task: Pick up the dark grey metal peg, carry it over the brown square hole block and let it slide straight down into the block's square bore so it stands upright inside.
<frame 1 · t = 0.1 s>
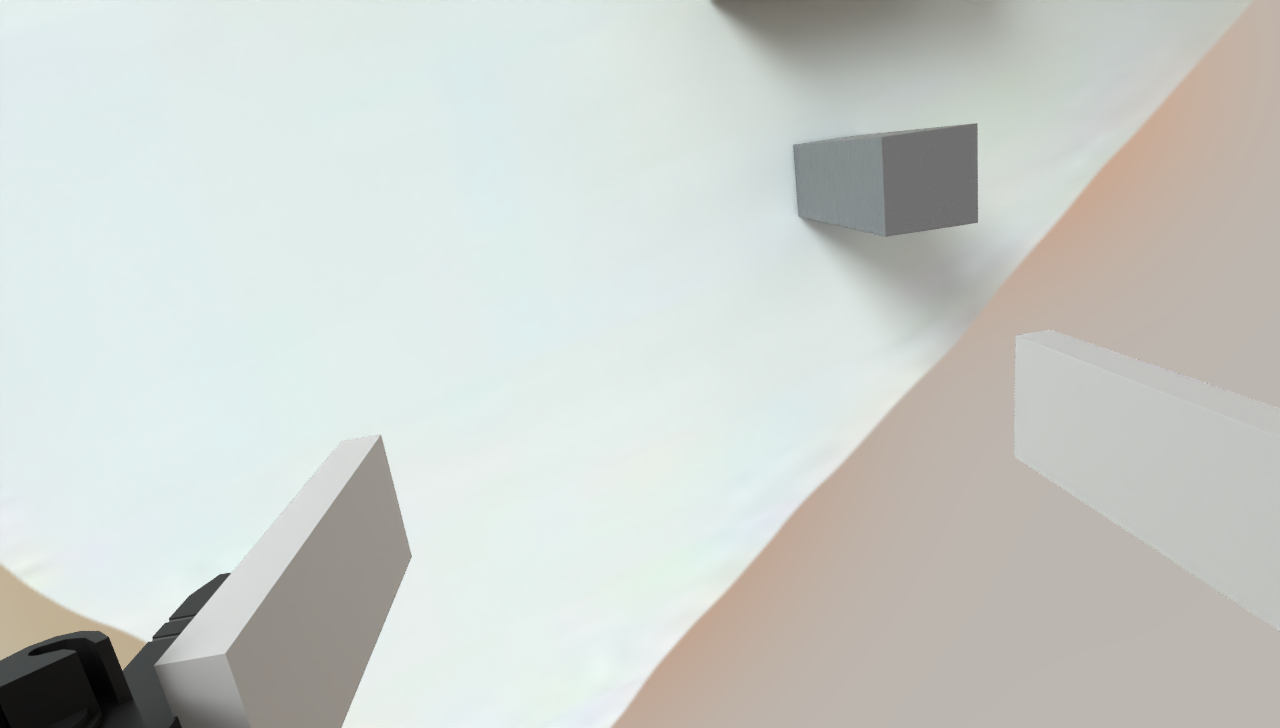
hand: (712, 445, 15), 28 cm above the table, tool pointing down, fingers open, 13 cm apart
metal peg: (830, 176, 41), on the table
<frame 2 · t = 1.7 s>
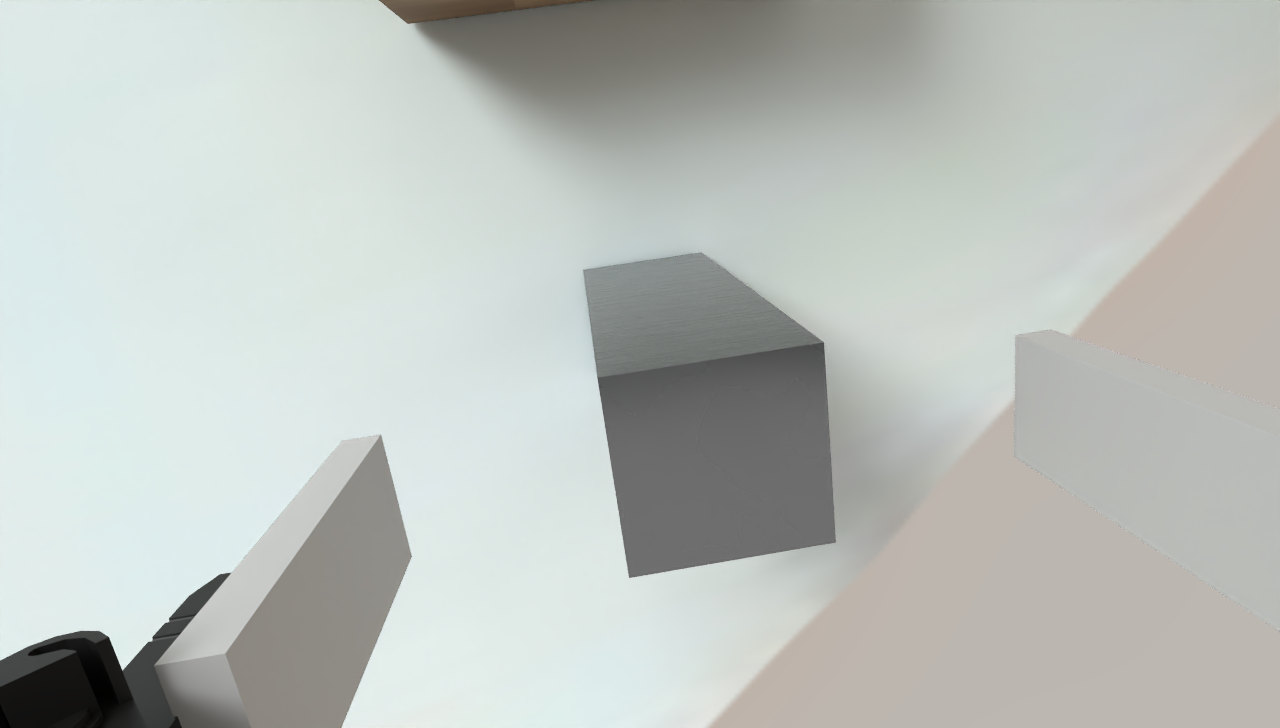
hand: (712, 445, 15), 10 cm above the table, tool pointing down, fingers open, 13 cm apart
metal peg: (650, 319, 24), on the table
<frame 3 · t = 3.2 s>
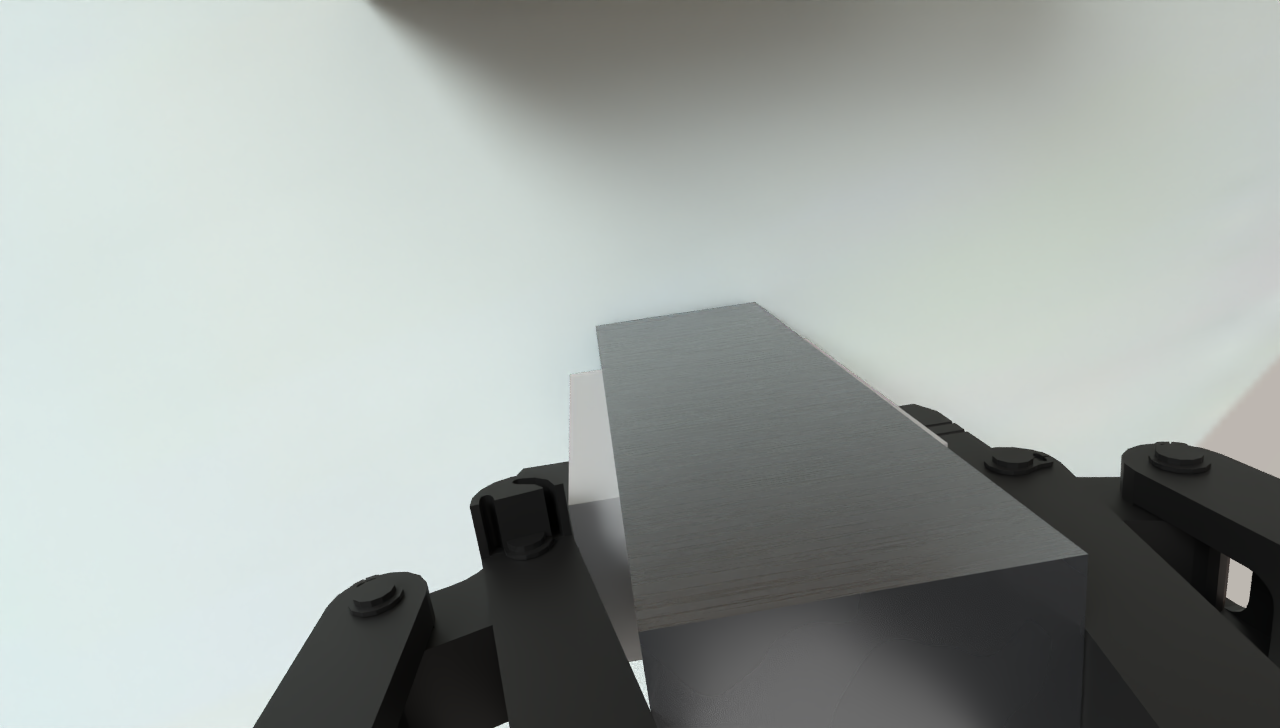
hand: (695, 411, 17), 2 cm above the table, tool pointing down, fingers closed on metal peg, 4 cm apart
metal peg: (685, 390, 18), on the table, touching gripper
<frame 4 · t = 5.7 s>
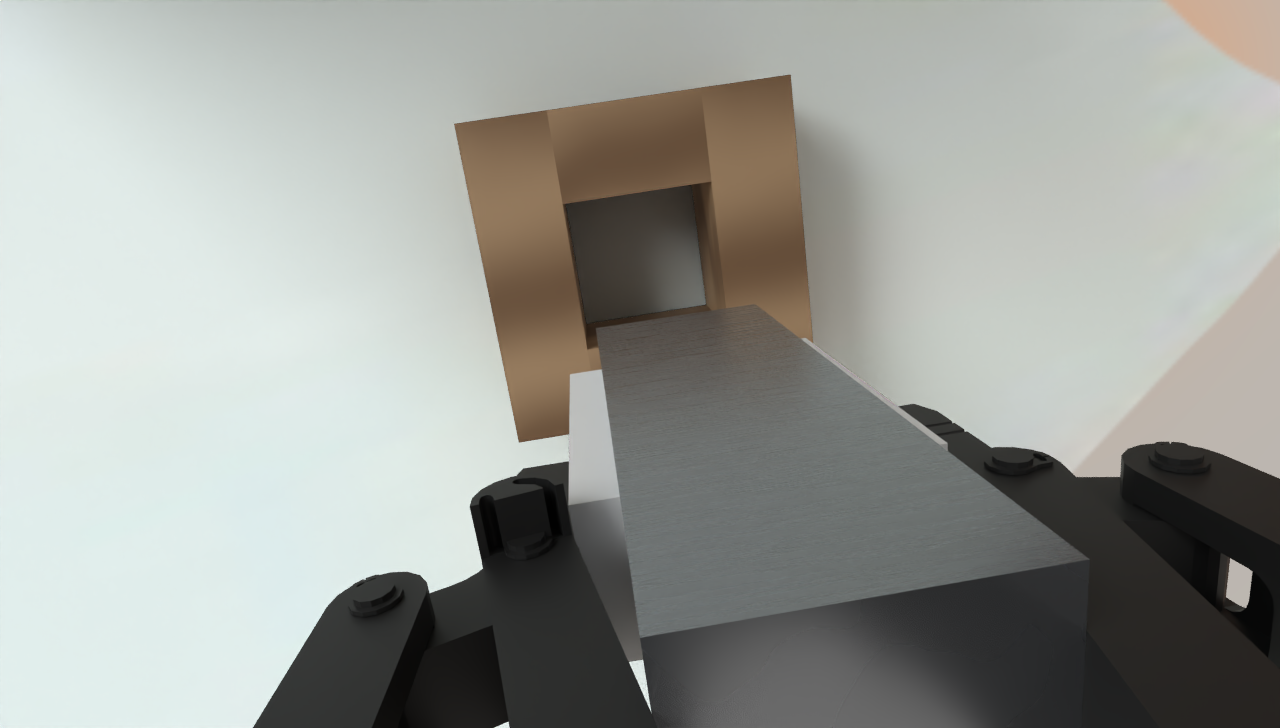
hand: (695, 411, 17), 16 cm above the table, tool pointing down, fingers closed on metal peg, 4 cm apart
brown square hole block: (637, 253, 32), on the table
metal peg: (685, 391, 18), point 14 cm above the table, touching gripper
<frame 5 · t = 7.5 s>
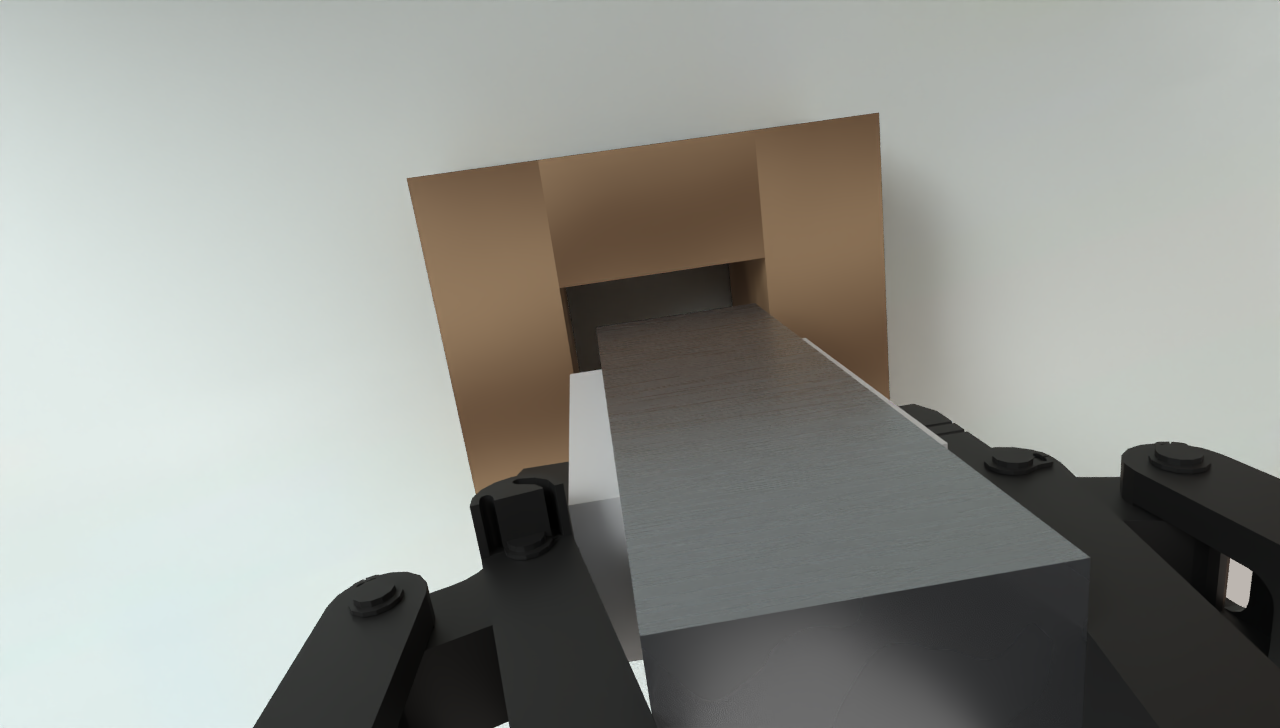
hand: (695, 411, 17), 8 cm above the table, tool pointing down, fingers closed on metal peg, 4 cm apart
brown square hole block: (654, 330, 24), on the table
metal peg: (685, 391, 18), point 6 cm above the table, touching gripper
when the fingers open (7 cm above the table, at t = 8.5 s): metal peg drops 6 cm, resting in brown square hole block.
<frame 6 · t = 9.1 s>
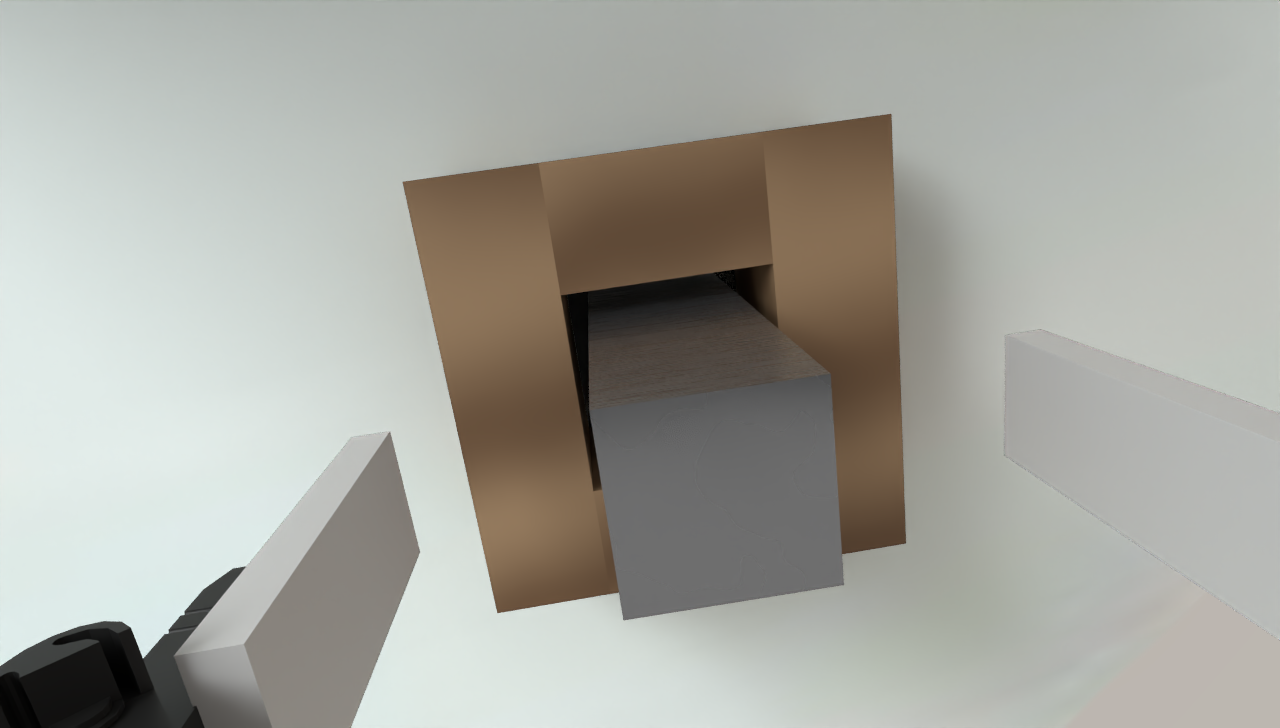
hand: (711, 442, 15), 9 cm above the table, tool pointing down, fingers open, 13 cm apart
brown square hole block: (658, 337, 24), on the table
metal peg: (656, 338, 24), resting in brown square hole block
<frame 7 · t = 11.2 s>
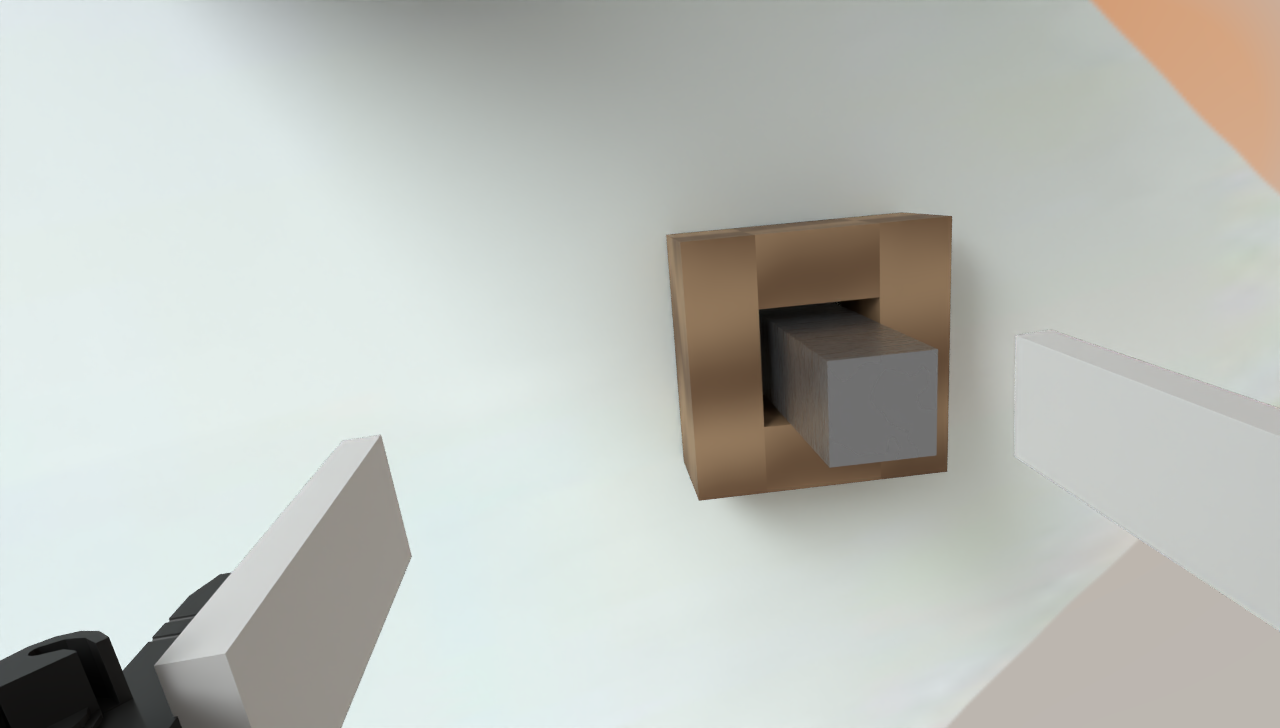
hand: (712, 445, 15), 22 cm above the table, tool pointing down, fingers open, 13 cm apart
brown square hole block: (789, 340, 37), on the table
metal peg: (788, 340, 37), resting in brown square hole block
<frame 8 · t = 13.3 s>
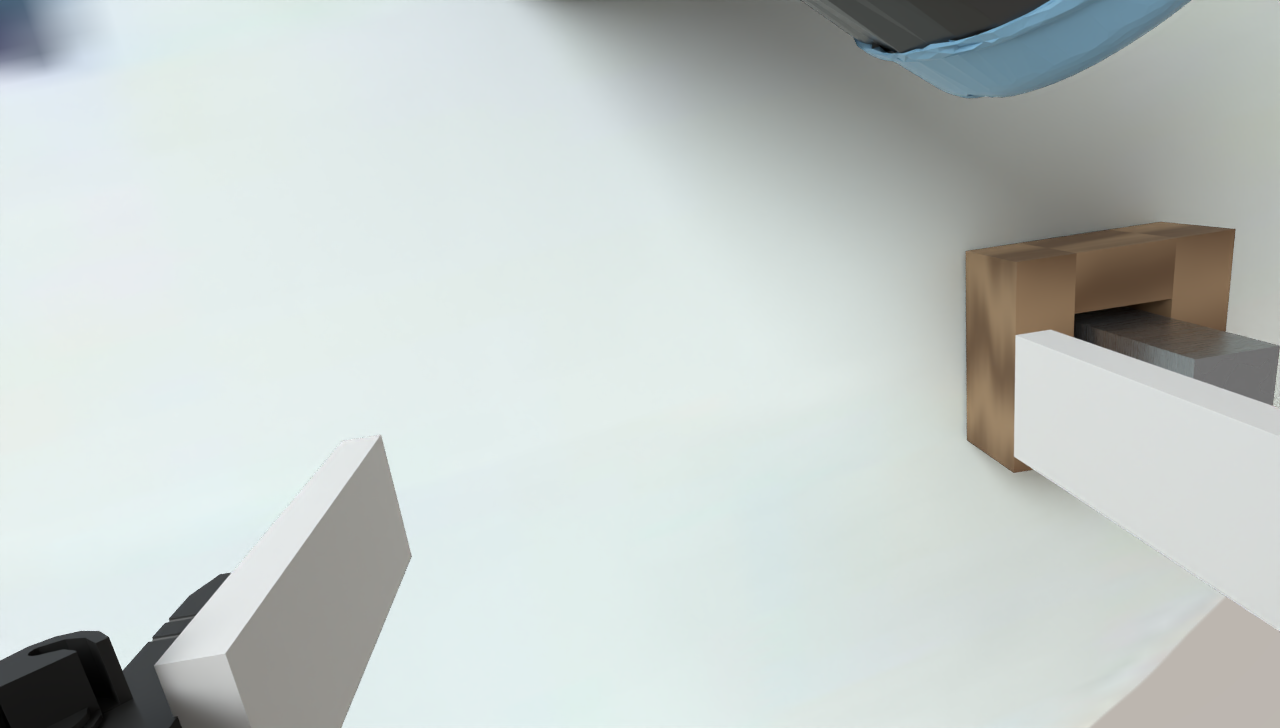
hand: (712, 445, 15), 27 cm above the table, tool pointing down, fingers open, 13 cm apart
brown square hole block: (1060, 334, 44), on the table
metal peg: (1059, 334, 44), resting in brown square hole block
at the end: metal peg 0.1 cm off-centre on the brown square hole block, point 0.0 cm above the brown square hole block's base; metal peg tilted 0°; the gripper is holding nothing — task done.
